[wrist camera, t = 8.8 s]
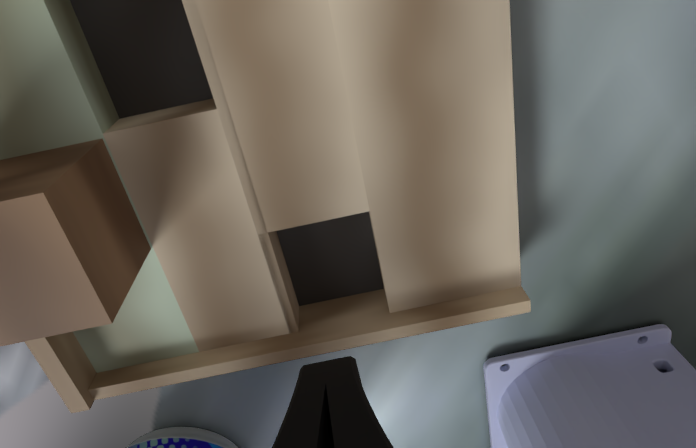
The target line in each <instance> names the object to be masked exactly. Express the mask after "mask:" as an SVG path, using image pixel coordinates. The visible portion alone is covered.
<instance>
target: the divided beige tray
mask: <svg viewBox="0 0 696 448" xmlns="http://www.w3.org/2000/svg"><path fill="white" fill-rule="evenodd" d="M97 139H103V141H104V143H105V146H106V148H107V150H108V152H109V155H110V157H111V159H112V161H113V164H114V166H115V168H116V170H117V173H118V175H119V177H120V180H121V182H122V184H123V186H124V189H125V191H126V193H127V195H128V198H129V200H130V202H131V204H132V207H133V209H134V211H135V213H136V216H137V218H138V220H139V223H140V225H141V227H142V229H143V232H144V234H145V236H146V238H147V241H148V243H149V245H150V247H151V250H150V252H149V254H148V256H147V258H146V259H145V261H144V263H143V265H142V267H141V269H140V271H139V273H138V275H137V277H136V279H135V281H134V283H133V284H132V286H131V288H130V290H129V292H128V294H127V296H126V298H125V300H124V302H123V304H122V306H121V308H120V309H119V311H118V313H117V315H116V317H115V319H114V321H113V323H112V324H108V325H103V326H98V327H93V328H88V329H83V330H78V331H73V332H68V333H63V334H59V335H54V336H49V337H44V338H39V339H34V340H29V341H24V342H25V343H26V345H27V346H28V348H29V349H30V351H31V352H32V354H33V355H34V357H35V358H36V360H37V361H38V363H39V365H40V366H41V368H42V369H43V371H44V372H45V374H46V375H47V377H48V378H49V380H50V381H51V383H52V384H53V386H54V388H55V389H56V391H57V392H58V394H59V395H60V397H61V398H62V400H63V401H64V403H65V404H66V406H67V407H68V409H69V411H70V412H71V413H75V412H80V411H85V410H90V408H91V406H92V404H93V402H94V400H98V399H103V398H108V397H113V396H118V395H122V394H127V393H132V392H137V391H142V390H147V389H152V388H157V387H162V386H167V385H172V384H177V383H182V382H187V381H192V380H197V379H202V378H206V377H211V376H216V375H221V374H226V373H231V372H236V371H241V370H246V369H251V368H256V367H261V366H266V365H271V364H276V363H280V362H285V361H290V360H295V359H300V358H305V357H310V356H315V355H320V354H325V353H330V352H335V351H340V350H345V349H350V348H354V347H359V346H364V345H369V344H374V343H379V342H384V341H389V340H394V339H399V338H404V337H409V336H414V335H419V334H423V333H428V332H433V331H438V330H443V329H448V328H453V327H458V326H463V325H468V324H473V323H478V322H483V321H488V320H493V319H497V318H502V317H507V316H512V315H517V314H522V313H527V312H531V306H530V299H529V298H528V296H527V294H526V293H525V291H524V290H523V288H522V287H521V269H520V245H519V221H518V196H517V172H516V147H515V123H514V98H513V74H512V50H511V25H510V1H509V0H0V160H3V159H8V158H12V157H17V156H22V155H26V154H31V153H36V152H40V151H45V150H50V149H55V148H59V147H64V146H69V145H73V144H78V143H83V142H87V141H92V140H97Z"/></svg>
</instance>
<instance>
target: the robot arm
mask: <svg viewBox="0 0 696 448" xmlns="http://www.w3.org/2000/svg"><path fill="white" fill-rule="evenodd" d="M671 336H672V331H671V330H670V329H669V328H668V327H667V326H666V325H665V324H657V325H652V326H647V327H642V328H637V329H632V330H627V331H622V332H617V333H612V334H607V335H602V336H597V337H592V338H587V339H583V340H578V341H573V342H568V343H563V344H558V345H553V346H548V347H543V348H538V349H533V350H528V351H523V352H518V353H513V354H508V355H503V356H498V357H493V358H490V359H488V360H487V361H485V363H484V366H483V368H484V379H485V390H486V401H487V411H488V422H489V433H490V444H491V448H696V370H695V369H694V367H693V366H692V365H691V364H690V363H689V362H688V361H687V360H686V359H685V358H684V357H683V356H682V355H681V354H680V353H679V351H678V350H677V349H676V348H675V347H674V346H673V345H672V344H671ZM640 337H641V338H640ZM503 364H506V365H504V366H502V365H503ZM272 448H393V446H392V444H391V443H390V441H389V439H388V438H387V436H386V434H385V433H384V431H383V429H382V427H381V425H380V424H379V422H378V420H377V418H376V416H375V414H374V412H373V410H372V408H371V406H370V404H369V401H368V399H367V397H366V395H365V392H364V390H363V387H362V384H361V380H360V376H359V372H358V368H357V364H356V360H355V358H353V357H351V356H349V357H344V358H338V359H333V360H328V361H323V362H318V363H313V364H308V365H304V366H303V367H302V368H301V369H300V373H299V377H298V380H297V383H296V387H295V390H294V393H293V396H292V399H291V402H290V404H289V407H288V410H287V413H286V415H285V418H284V420H283V423H282V425H281V428H280V430H279V433H278V435H277V437H276V440H275V442H274V444H273V446H272Z"/></svg>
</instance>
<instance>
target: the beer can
mask: <svg viewBox="0 0 696 448" xmlns="http://www.w3.org/2000/svg"><path fill="white" fill-rule="evenodd" d="M126 448H238V447H237V446H236V445H235V444H234V443H233V442H231V441H230V440H228V439H227V438H225V437H223V436H221V435H219V434H217V433H215V432H212V431H209V430H205V429H200V428H194V427H169V428H163V429H158V430H155V431H152V432H150V433H147V434H145V435H143V436H141V437H139V438H138V439H136V440H135V441H134V442H132V443H131V444H130V445H129V446H128V447H126Z"/></svg>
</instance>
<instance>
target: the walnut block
mask: <svg viewBox="0 0 696 448" xmlns="http://www.w3.org/2000/svg"><path fill="white" fill-rule="evenodd" d="M150 250H151V247H150V245H149V243H148V241H147V238H146V236H145V234H144V232H143V229H142V227H141V225H140V223H139V220H138V218H137V216H136V213H135V211H134V209H133V207H132V204H131V202H130V200H129V198H128V195H127V193H126V191H125V189H124V186H123V184H122V182H121V180H120V177H119V175H118V173H117V170H116V168H115V166H114V164H113V161H112V159H111V157H110V155H109V152H108V150H107V148H106V146H105V143H104V141H103V139H97V140H92V141H87V142H83V143H78V144H73V145H69V146H64V147H59V148H55V149H50V150H45V151H40V152H36V153H31V154H26V155H22V156H17V157H12V158H8V159H3V160H0V346H5V345H9V344H14V343H19V342H24V341H29V340H34V339H39V338H44V337H49V336H54V335H59V334H63V333H68V332H73V331H78V330H83V329H88V328H93V327H98V326H103V325H108V324H112V323H113V321H114V319H115V317H116V315H117V313H118V311H119V309H120V308H121V306H122V304H123V302H124V300H125V298H126V296H127V294H128V292H129V290H130V288H131V286H132V284H133V283H134V281H135V279H136V277H137V275H138V273H139V271H140V269H141V267H142V265H143V263H144V261H145V259H146V258H147V256H148V254H149V252H150Z"/></svg>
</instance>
